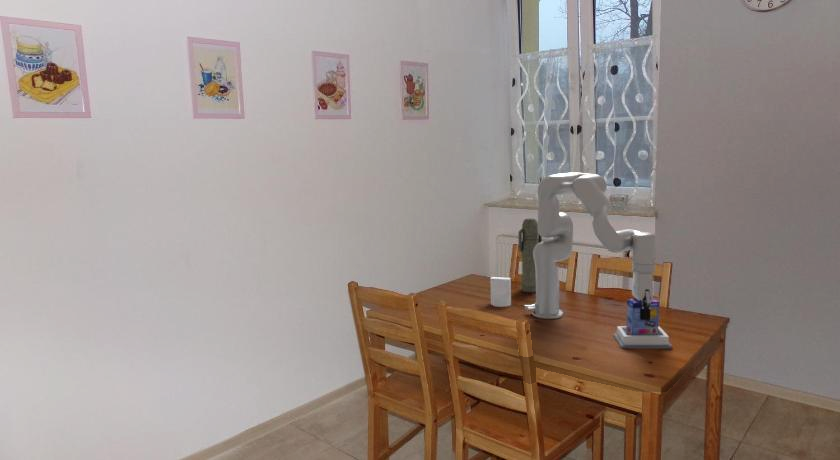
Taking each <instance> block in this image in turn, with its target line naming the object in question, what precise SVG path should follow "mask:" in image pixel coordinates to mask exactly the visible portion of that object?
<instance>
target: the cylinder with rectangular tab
mask: <svg viewBox="0 0 840 460" xmlns="http://www.w3.org/2000/svg"><path fill="white" fill-rule="evenodd" d="M489 279H490V280H489V281H490V304H491V306H492V305H493V307H495V308H496V307H498V308H505V307H509V306H511V305H512V290H511V289H512V285H511V284H512V283H511V282H512V278H511V277H503V276H502V277H500V276H492V277H490V278H489Z"/></svg>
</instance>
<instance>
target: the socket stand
mask: <svg viewBox="0 0 840 460" xmlns="http://www.w3.org/2000/svg"><path fill="white" fill-rule="evenodd" d="M613 337H614V339H615V341H616V342H617V344H618V345H619V347H620V348H621V349H633V350H634V349H637V350H640V349H642V350H643V349H644V350H645V349H653V350H656V349H657V350H658V349H660V350H661V349H665V350H667V349H669V350H670V349H671V350H673V344H671V342H670V336H669V335H668V334H667V333H666V332H665V331H664V330H663V329H662V327H661V326H659V325H658V334H649V335H631V334H630V333H629V332H628V331H627V325H624V326H623V325H621V326H620V325H618V326H616V332H613Z"/></svg>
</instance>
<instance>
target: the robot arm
mask: <svg viewBox="0 0 840 460" xmlns="http://www.w3.org/2000/svg"><path fill="white" fill-rule="evenodd" d="M607 188H608V186H607V181H606V179H605V178H604V177H603V176H601V175H599V174H594V173H586V172H585V173H583V172H564V173H556V174H555V173H554V174H550V175H547V176H545V177H543V178H542V179H541V180H540V181H539V183H538V185H537V190H536V191H537V202H538V207H537V223H538V233H539V235H540V236H542V238H545V239H546V238H548V239H547V240H542V242H539V243H538V244H537V245H536V246H535V247H534V249H533V257H534V262H535V270H536V292H535V302H534V303H532V304H524V310H527V311H529V312H531V311H532V312H531V313H532V315H533V316H534V317H535V318H539V319H545V320H551V319H552V320H553V319H559V318H562V317H563V316H564V312H563V310H561V309H560V273H559V269H558V266H557V264H556V263H557V262H561V261H565V260H567V259H569V258H570V256H571V254H572V251H573V242H574V241H573V238H574V223H573V220H572V218H571V216H570V215H569V214H567V213H566V212H560V208H561V207H560V202H559V199H558V197H557V196H564V195H572V194H574V196H576V198H577V199H578V200H579V202H580V203H581V204H582V205H583V207H584V208H585V209H586V211H587V213H588V214H589V216H591V219H592V221H591V223H592V229H593V231H594V232H593V233H594V234H595V236H596V238H597V239H598V241H599V242H600V243H601V245H602V246H603V247H604V248H605V249H606V250H607V251H609V252H610V253H612V254H613V253H614V254H615V253H616V254H619V253H623V252H627V251H632V256H631V257H632V264H631V265H632V266H631V267H632V268H631V271H632V273H633V274H632V285H631V288H632V289H631V295H632V296H633V297H634V298H636V299H637V300H638V301H640V300H641V308H642V309H640V319H641V320H650V304H651V300H652V299H653V298H654V295H653V294H654V277H653V274H654V273H656V251H657V250H656V249H657V248H656V247H657V243H656V242H657V237H656V234H655V233H652V232H650V231H649V232H647V231H639V230H636V229H632V228H631V229H630V228H629V229H627V228H626V229H622V230H615V228H614V227H613V226H612V225H611V223H610V221H609V219H608V213H609V212H610V210H611V209H612V206H613V205H612V202H611V201H610V200H609V198H608V197H607V196H606V195H605V192H606V191H607ZM549 238H551V239H549ZM643 299H646V300H643ZM643 302H646V303H643Z"/></svg>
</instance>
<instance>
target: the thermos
mask: <svg viewBox="0 0 840 460" xmlns="http://www.w3.org/2000/svg"><path fill="white" fill-rule="evenodd" d="M517 237H518V251H519V252H520V256H521V257H522V258H521V260H522V261H521V264H522V265H521V269H522V270H521V272H522V274H521V277H520V279H521V280H520V282H521V283H520V285H521V291H522V292H524V293H531V292H532V293H536V270H535V262H534V257H533V249H534V247H535V246H536V245H537V244H538V243H539V242H542V241H543V237H542V236H540V235H539V233H538V219H535V218H525V219H523V222H522V224H521V229H519V231H518V236H517Z"/></svg>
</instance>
